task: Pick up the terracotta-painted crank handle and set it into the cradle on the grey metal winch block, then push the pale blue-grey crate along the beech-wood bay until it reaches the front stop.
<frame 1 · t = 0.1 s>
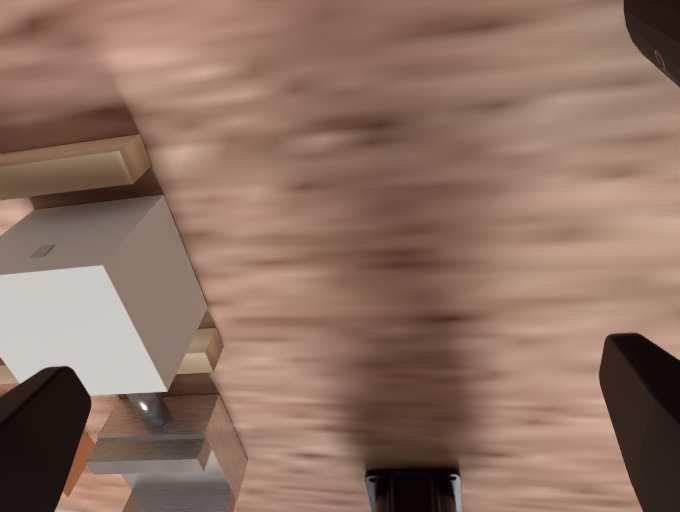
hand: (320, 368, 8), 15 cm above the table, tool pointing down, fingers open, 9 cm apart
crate: (97, 296, 23), point 3 cm above the table, slide at 0.0 cm
winch block: (186, 430, 33), on the table
bay: (17, 271, 27), on the table
crank handle: (32, 434, 35), on the table
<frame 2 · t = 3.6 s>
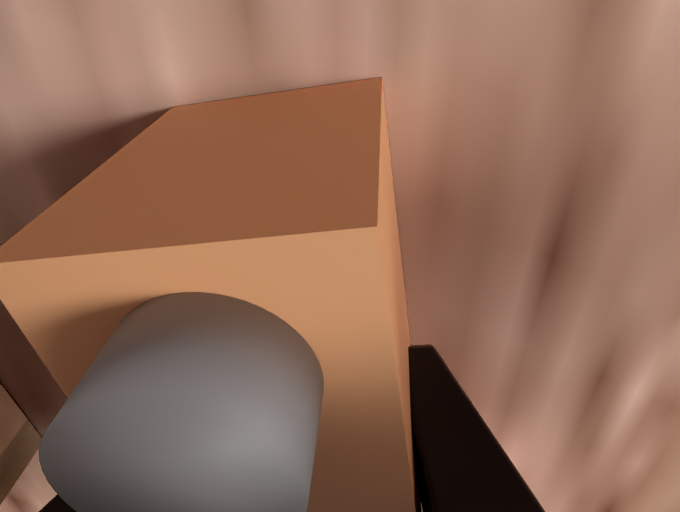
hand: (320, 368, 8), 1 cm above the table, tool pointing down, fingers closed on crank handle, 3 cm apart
crank handle: (328, 334, 9), on the table, touching gripper
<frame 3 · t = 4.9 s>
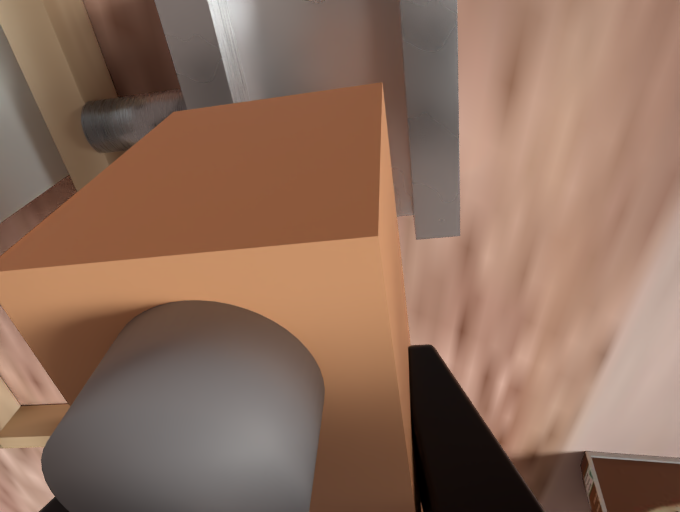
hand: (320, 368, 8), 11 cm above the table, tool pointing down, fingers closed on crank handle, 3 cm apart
food container: (656, 490, 26), on the table
winch block: (336, 83, 16), on the table
bay: (23, 250, 20), on the table
crank handle: (329, 337, 9), point 9 cm above the table, touching gripper
when the fingers open (5 cm above the table, at t = 6.2 s): crank handle drops 1 cm, resting on winch block.
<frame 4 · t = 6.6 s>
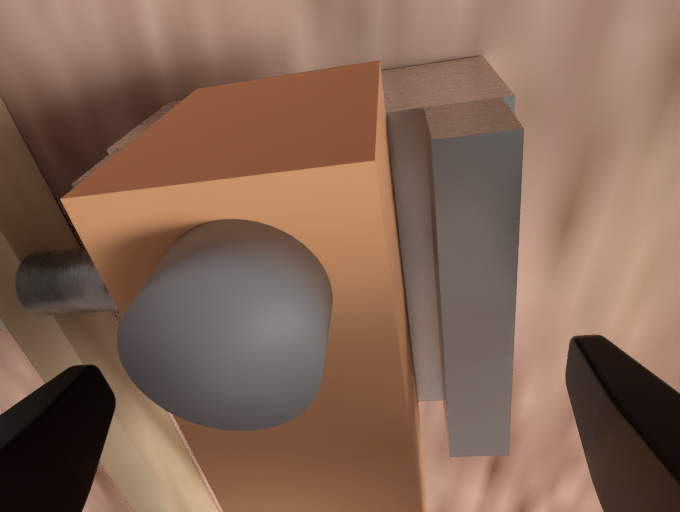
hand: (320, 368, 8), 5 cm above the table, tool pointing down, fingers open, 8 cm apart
winch block: (342, 219, 12), on the table
crank handle: (333, 297, 10), point 3 cm above the table, touching winch block
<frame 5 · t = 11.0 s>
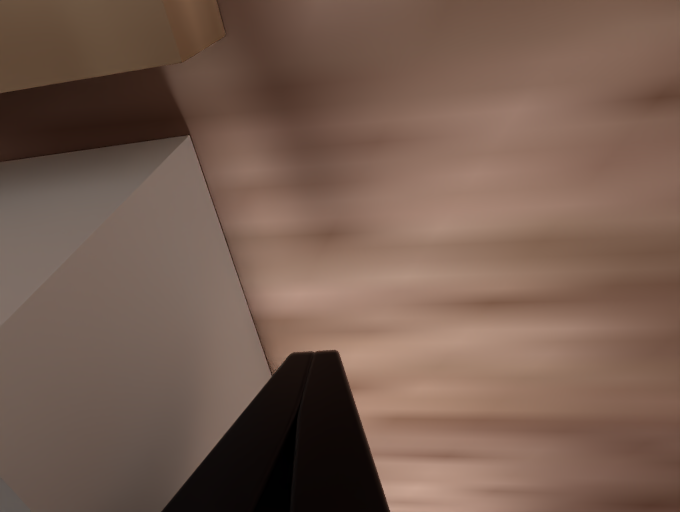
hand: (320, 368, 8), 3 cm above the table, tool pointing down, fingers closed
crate: (14, 407, 9), point 3 cm above the table, slide at 1.2 cm, touching gripper
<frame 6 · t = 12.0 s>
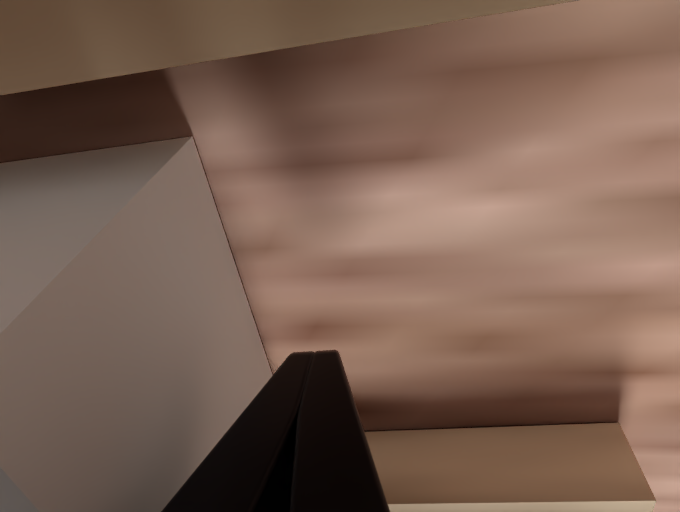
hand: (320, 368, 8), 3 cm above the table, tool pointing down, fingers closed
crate: (17, 406, 9), point 3 cm above the table, slide at 8.4 cm, touching gripper
bay: (173, 295, 11), on the table
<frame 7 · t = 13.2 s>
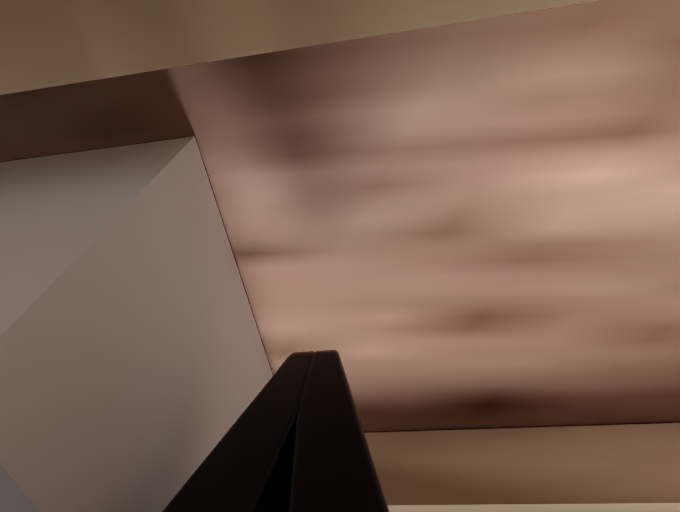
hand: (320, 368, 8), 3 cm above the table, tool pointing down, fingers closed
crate: (17, 406, 9), point 3 cm above the table, slide at 12.0 cm, touching gripper
bay: (334, 282, 10), on the table
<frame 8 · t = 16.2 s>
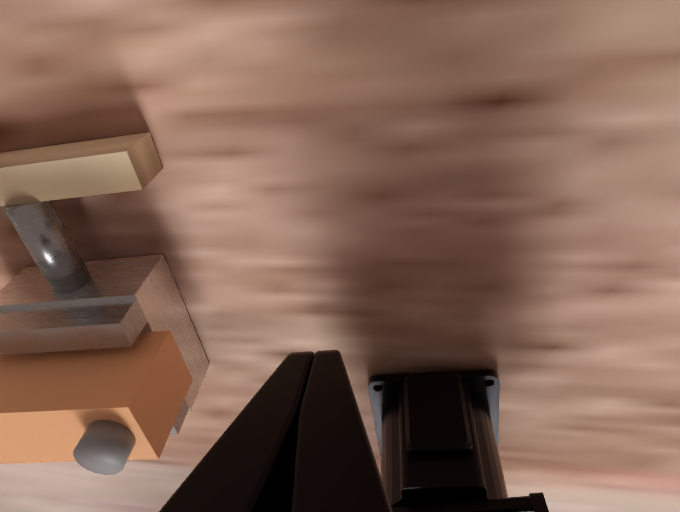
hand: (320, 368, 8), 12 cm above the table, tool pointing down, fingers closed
winch block: (122, 318, 24), on the table
crank handle: (88, 362, 22), point 3 cm above the table, touching winch block
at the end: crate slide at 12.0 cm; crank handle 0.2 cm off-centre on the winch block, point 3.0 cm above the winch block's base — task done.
